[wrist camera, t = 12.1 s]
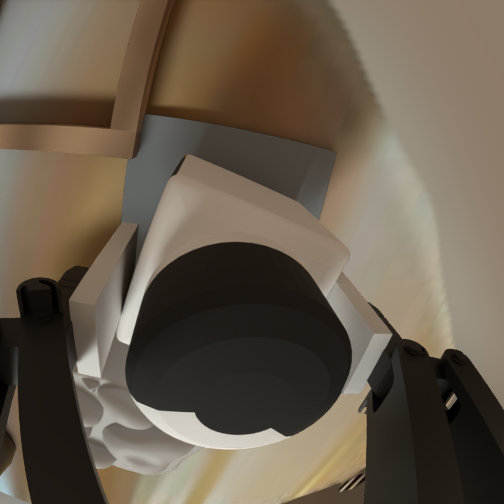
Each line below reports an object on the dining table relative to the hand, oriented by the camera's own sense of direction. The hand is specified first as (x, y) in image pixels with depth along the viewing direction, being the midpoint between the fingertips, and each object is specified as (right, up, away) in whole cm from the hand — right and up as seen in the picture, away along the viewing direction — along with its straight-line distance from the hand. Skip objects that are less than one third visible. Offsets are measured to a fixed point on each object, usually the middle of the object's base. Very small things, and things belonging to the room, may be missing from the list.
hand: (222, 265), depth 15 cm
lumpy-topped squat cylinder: (-9, -8, +9) cm, 15 cm away
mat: (-1, +2, +5) cm, 6 cm away
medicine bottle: (-1, +2, +4) cm, 4 cm away
